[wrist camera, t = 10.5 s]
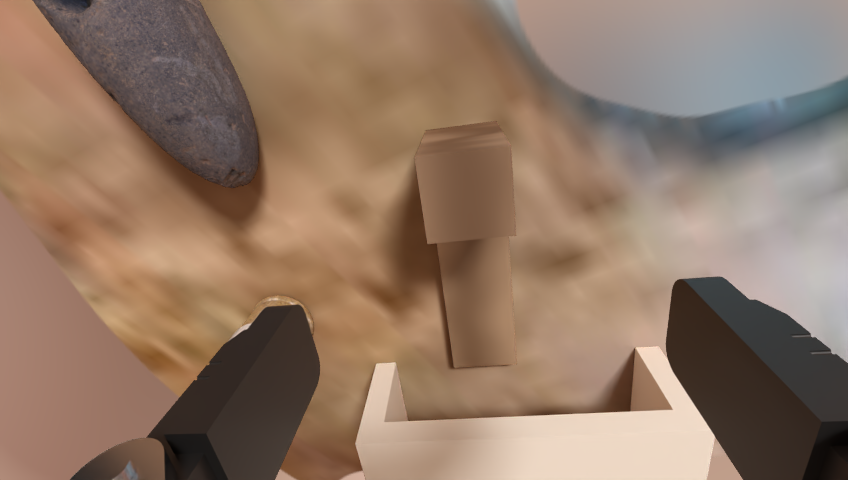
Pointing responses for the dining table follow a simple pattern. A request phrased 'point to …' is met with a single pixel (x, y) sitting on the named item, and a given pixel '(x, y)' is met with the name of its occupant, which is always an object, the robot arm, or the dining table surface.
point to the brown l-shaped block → (472, 236)
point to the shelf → (541, 437)
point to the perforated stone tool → (166, 78)
